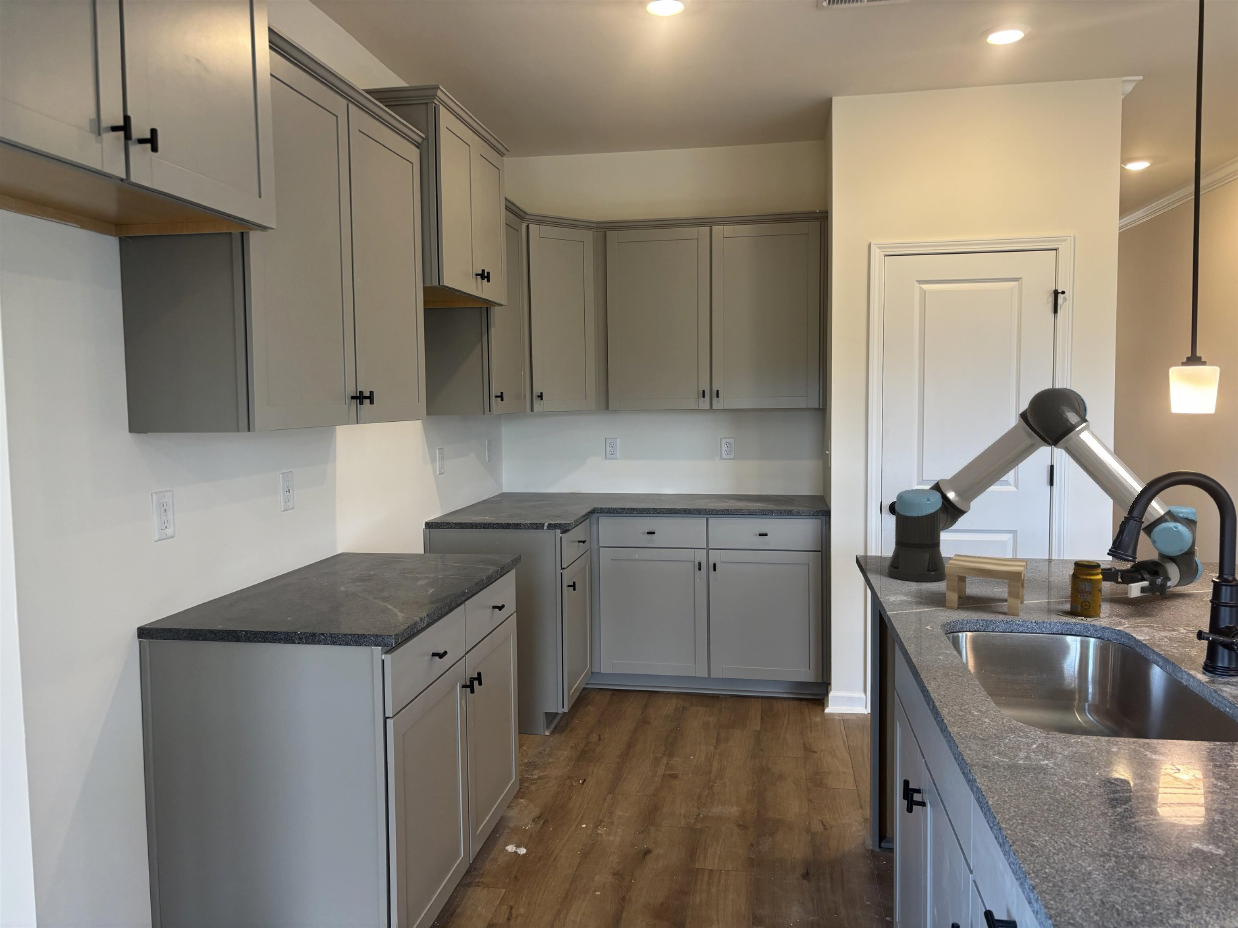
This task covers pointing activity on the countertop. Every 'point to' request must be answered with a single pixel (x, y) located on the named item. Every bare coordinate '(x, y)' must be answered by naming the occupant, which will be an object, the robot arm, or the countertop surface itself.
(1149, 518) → the robot arm
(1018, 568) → the stool
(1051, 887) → the countertop surface
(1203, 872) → the countertop surface
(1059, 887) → the countertop surface
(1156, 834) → the countertop surface
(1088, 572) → the condiment
